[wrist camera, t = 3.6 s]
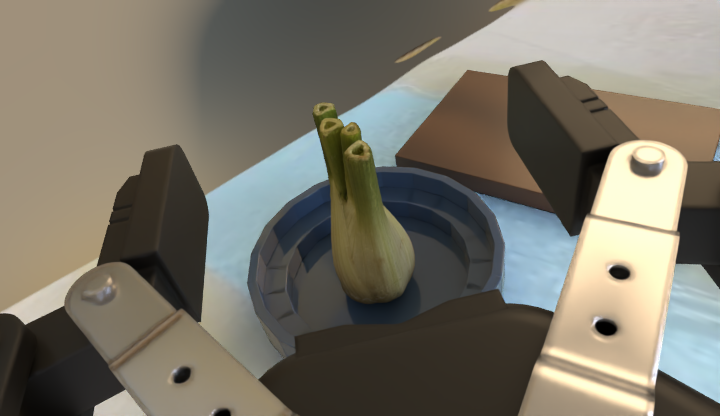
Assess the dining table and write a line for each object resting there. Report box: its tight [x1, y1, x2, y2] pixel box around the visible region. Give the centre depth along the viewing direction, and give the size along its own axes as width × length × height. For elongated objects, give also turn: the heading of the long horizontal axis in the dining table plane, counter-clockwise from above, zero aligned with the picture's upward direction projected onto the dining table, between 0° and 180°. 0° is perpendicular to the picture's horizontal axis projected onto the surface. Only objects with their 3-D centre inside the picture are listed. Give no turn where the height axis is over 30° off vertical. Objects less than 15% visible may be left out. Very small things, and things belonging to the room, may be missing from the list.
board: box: [395, 70, 720, 213], centre depth 40 cm, size 13×20×2 cm, turn 57°
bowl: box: [247, 166, 505, 359], centre depth 33 cm, size 15×15×3 cm
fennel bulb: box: [313, 103, 415, 304], centre depth 30 cm, size 6×5×12 cm
